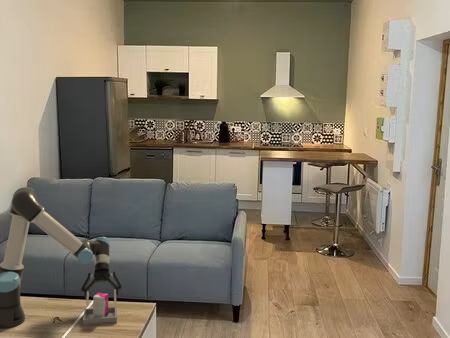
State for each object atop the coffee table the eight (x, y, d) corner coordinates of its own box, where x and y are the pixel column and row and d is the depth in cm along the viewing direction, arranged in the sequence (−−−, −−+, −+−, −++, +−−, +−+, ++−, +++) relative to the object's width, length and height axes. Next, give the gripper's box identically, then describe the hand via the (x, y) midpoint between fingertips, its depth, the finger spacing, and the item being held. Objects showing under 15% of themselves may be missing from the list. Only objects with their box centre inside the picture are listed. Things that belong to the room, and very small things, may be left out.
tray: (83, 325, 233) (82, 319, 233) (84, 314, 246) (84, 308, 246) (116, 322, 237) (116, 317, 237) (116, 311, 249) (116, 306, 249)
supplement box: (104, 319, 238) (103, 297, 237) (92, 318, 239) (92, 296, 238) (108, 315, 244) (108, 293, 242) (97, 314, 245) (97, 292, 243)
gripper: (126, 266, 261) (126, 304, 249) (78, 269, 256) (76, 307, 244) (125, 260, 256) (126, 298, 243) (76, 262, 250) (74, 302, 238)
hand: (101, 303), depth 243 cm, fingers open, 13 cm apart
